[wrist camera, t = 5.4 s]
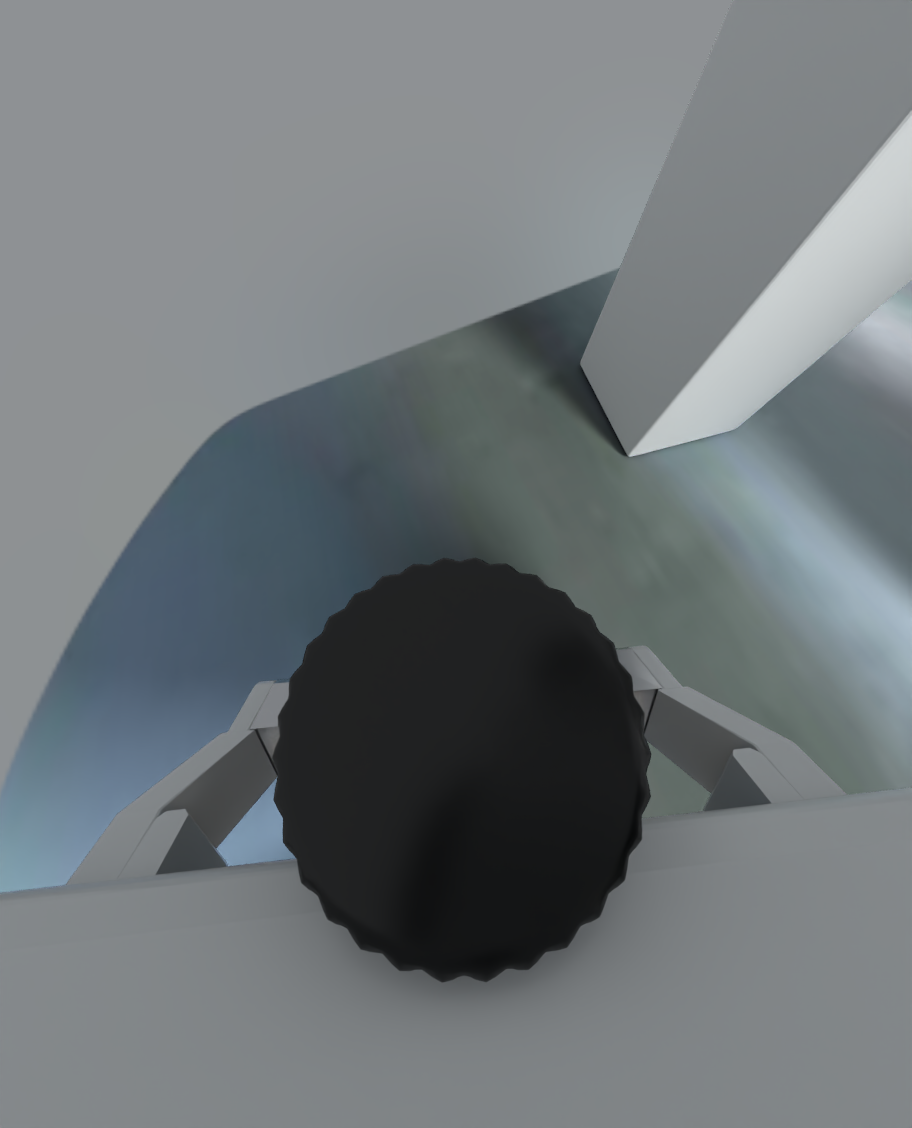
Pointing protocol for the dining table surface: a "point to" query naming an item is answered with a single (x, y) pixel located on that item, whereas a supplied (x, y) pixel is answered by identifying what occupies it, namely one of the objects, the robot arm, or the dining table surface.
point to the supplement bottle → (461, 769)
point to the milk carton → (763, 220)
